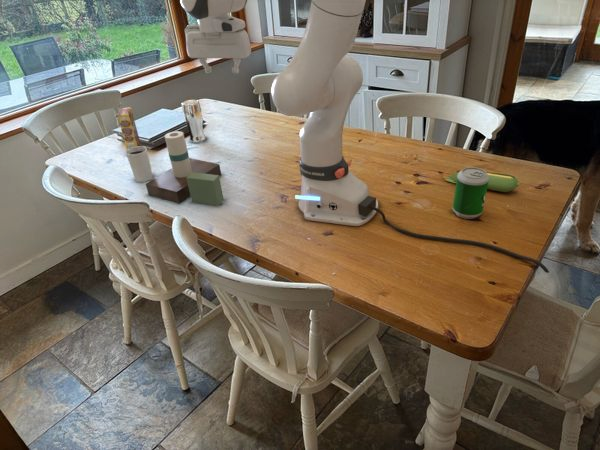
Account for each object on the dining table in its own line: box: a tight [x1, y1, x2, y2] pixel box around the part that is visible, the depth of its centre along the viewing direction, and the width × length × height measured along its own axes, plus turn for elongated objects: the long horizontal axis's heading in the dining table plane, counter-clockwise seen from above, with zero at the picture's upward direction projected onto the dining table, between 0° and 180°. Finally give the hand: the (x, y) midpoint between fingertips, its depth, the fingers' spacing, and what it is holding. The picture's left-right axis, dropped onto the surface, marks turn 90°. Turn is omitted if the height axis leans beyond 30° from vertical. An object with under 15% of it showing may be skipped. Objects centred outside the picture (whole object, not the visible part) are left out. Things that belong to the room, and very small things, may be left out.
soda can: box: [451, 166, 489, 220], centre depth 111 cm, size 8×8×12 cm
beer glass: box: [181, 99, 207, 144], centre depth 167 cm, size 7×7×15 cm
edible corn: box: [444, 170, 520, 193], centre depth 125 cm, size 5×20×5 cm, turn 62°
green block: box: [186, 172, 225, 207], centre depth 127 cm, size 4×9×8 cm, turn 70°
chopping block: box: [145, 157, 222, 204], centre depth 138 cm, size 13×20×4 cm, turn 150°
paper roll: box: [164, 130, 192, 178], centre depth 133 cm, size 13×6×13 cm
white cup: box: [125, 146, 154, 183], centre depth 143 cm, size 7×7×10 cm
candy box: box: [117, 106, 142, 150], centre depth 162 cm, size 9×4×15 cm, turn 13°
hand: (222, 73), depth 133 cm, fingers open, 8 cm apart
